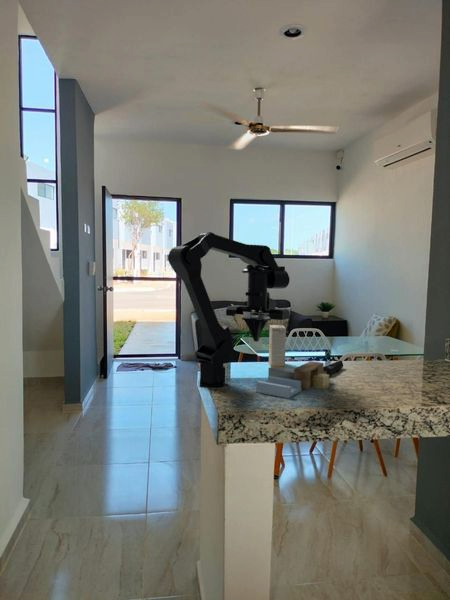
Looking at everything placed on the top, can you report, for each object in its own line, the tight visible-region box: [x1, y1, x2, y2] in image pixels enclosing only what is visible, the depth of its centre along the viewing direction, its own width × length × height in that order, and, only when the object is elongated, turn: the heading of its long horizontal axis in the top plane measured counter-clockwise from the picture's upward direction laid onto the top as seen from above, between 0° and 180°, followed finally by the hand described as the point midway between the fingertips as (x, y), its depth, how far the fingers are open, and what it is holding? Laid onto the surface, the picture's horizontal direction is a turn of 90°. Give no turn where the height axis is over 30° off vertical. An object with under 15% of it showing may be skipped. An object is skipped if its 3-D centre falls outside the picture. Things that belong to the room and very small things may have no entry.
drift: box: [267, 366, 294, 380], centre depth 120 cm, size 9×4×4 cm, turn 50°
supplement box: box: [268, 324, 287, 368], centre depth 140 cm, size 8×5×13 cm, turn 179°
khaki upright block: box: [310, 372, 330, 390], centre depth 115 cm, size 7×4×4 cm, turn 52°
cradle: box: [255, 376, 302, 399], centre depth 109 cm, size 9×8×3 cm
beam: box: [294, 360, 325, 391], centre depth 117 cm, size 4×12×5 cm, turn 147°
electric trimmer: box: [323, 360, 344, 378], centre depth 132 cm, size 4×16×3 cm, turn 145°
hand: (256, 341), depth 124 cm, fingers closed
